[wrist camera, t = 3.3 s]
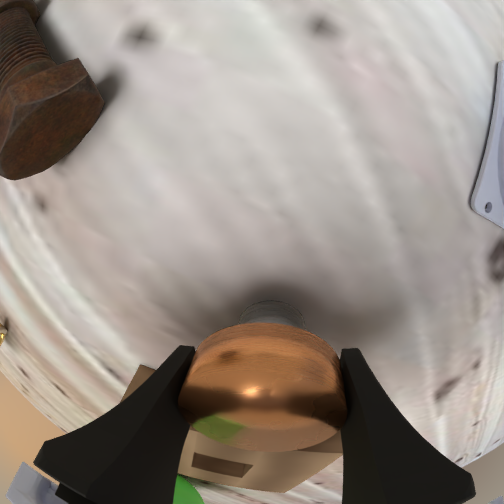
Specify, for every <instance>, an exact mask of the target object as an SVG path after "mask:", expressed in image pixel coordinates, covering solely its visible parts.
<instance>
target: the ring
mask: <svg viewBox="0 0 504 504" xmlns="http://www.w3.org/2000/svg"><path fill="white" fill-rule="evenodd" d="M7 333H8V330H7V329H6V328H5V327H4V325H2V324H1V323H0V346H1V344H2V343H3V340H4V338H5V336H6V334H7Z"/></svg>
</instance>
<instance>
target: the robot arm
mask: <svg viewBox="0 0 504 504" xmlns="http://www.w3.org/2000/svg"><path fill="white" fill-rule="evenodd" d="M486 203H487V208H486V209H485V205H486ZM471 207H472V209H473V210H474V211H475V212H476V213H478V214H480V215H481V216H483V217H485V218H487V219H488V220H490V221H492V222H493V223H495V224H497V225H498V226H500V227H501V228H503V229H504V61H500V62H499V63H498V73H497V85H496V94H495V102H494V109H493V116H492V121H491V127H490V132H489V137H488V141H487V146H486V150H485V154H484V158H483V162H482V165H481V169H480V172H479V176H478V179H477V182H476V186H475V189H474V192H473V195H472V198H471ZM195 352H196V351H195V348H194V347H193V346H183V345H180V346H179V347H178V348H177V349H176V350H175V351H174V352H173V353H172V354H171V355H170V356H169V357H168V358H167V359H166V360H165V361H164V363H163V364H162V365H161V366H160V367H159V368H158V369H157V370H156V371H155V372H154V373H153V374H152V375H151V376H150V377H149V378H148V379H147V380H146V381H145V382H144V383H143V384H142V385H140V386H139V387H138V388H137V389H136V390H135V391H134V392H133V393H132V394H130V395H129V396H128V397H127V398H126V399H124V400H123V401H122V402H121V403H119V404H118V405H117V406H115V407H114V408H113V409H111V410H110V411H108V412H107V413H105V414H104V415H102V416H101V417H99V418H97V419H96V420H94V421H92V422H91V423H89V424H87V425H85V426H83V427H81V428H79V429H77V430H75V431H72V432H70V433H68V434H65V435H63V436H60V437H57V438H54V439H51V440H48V441H45V442H44V444H43V446H42V447H41V449H40V451H39V453H38V455H37V457H36V458H35V460H34V462H33V463H34V465H35V466H37V467H38V468H39V469H41V470H42V471H44V472H45V473H46V474H48V475H49V476H51V477H53V478H54V479H55V480H57V481H59V482H60V484H59V486H58V485H56V484H55V483H53V482H52V481H50V480H49V479H47V478H45V477H44V476H42V475H41V474H40V473H38V472H37V471H36V470H34V469H33V468H31V467H30V466H29V465H27V464H26V463H25V462H22V464H21V466H20V468H19V470H18V472H17V473H16V475H15V477H14V479H13V481H12V483H11V485H10V487H9V489H8V492H7V494H6V497H7V499H9V500H10V501H11V502H12V503H13V504H173V499H174V491H175V484H176V479H177V473H178V468H179V463H180V459H181V454H182V450H183V446H184V443H185V440H186V437H187V434H188V432H189V429H190V426H191V425H190V424H189V423H188V422H187V421H186V420H185V419H184V417H183V416H182V414H181V412H180V410H179V407H178V397H179V394H180V391H181V389H182V386H183V383H184V381H185V378H186V376H187V373H188V370H189V368H190V365H191V363H192V360H193V357H194V355H195ZM340 363H341V368H342V375H343V382H344V390H345V398H346V406H347V418H346V421H345V423H344V425H343V426H342V428H341V429H340V433H341V441H342V448H343V496H342V504H462V503H464V502H466V501H468V500H470V499H472V498H473V497H474V496H475V495H476V492H475V486H474V481H473V478H472V475H471V474H470V473H468V472H467V471H465V470H464V469H462V468H461V467H459V466H458V465H456V464H455V463H453V462H452V461H450V460H449V459H448V458H446V457H445V456H444V455H443V454H441V453H440V452H439V451H438V450H437V449H435V448H434V447H433V446H432V445H431V444H430V443H429V442H428V441H427V440H425V439H424V438H423V437H422V436H421V435H420V434H419V433H418V432H417V431H416V430H415V429H414V428H413V426H412V425H411V424H410V423H409V422H408V421H407V420H406V419H405V417H404V416H403V415H402V414H401V412H400V411H399V410H398V409H397V407H396V406H395V405H394V403H393V402H392V401H391V399H390V398H389V397H388V395H387V394H386V392H385V391H384V389H383V388H382V386H381V385H380V383H379V382H378V380H377V379H376V377H375V376H374V374H373V372H372V371H371V369H370V368H369V366H368V364H367V362H366V361H365V359H364V357H363V355H362V353H361V352H360V350H359V349H358V348H351V349H342V352H341V357H340ZM487 504H504V501H503V496H500V497H498V498H496V499H494V500H493V501H491V502H489V503H487Z"/></svg>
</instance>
